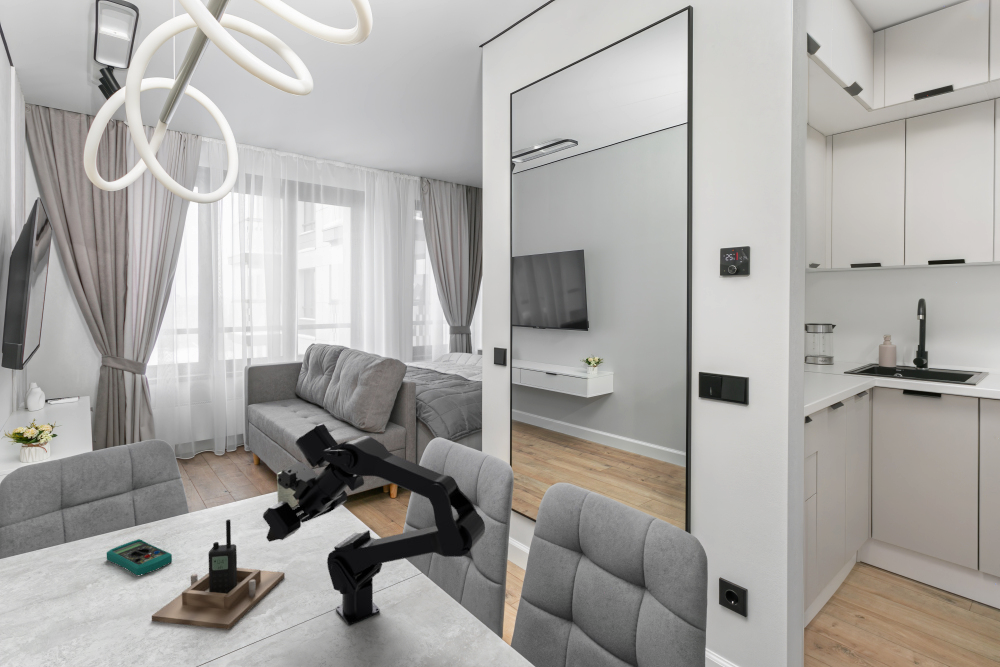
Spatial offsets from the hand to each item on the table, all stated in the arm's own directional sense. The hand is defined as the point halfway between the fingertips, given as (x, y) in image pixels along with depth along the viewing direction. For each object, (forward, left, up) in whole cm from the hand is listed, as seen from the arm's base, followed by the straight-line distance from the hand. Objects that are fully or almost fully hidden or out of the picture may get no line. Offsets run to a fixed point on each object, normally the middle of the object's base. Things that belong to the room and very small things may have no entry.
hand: (285, 529), depth 102 cm
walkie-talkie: (+7, +10, -13) cm, 18 cm away
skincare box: (+47, -16, -14) cm, 51 cm away
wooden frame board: (+7, +10, -14) cm, 18 cm away
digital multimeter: (+35, +22, -14) cm, 44 cm away
